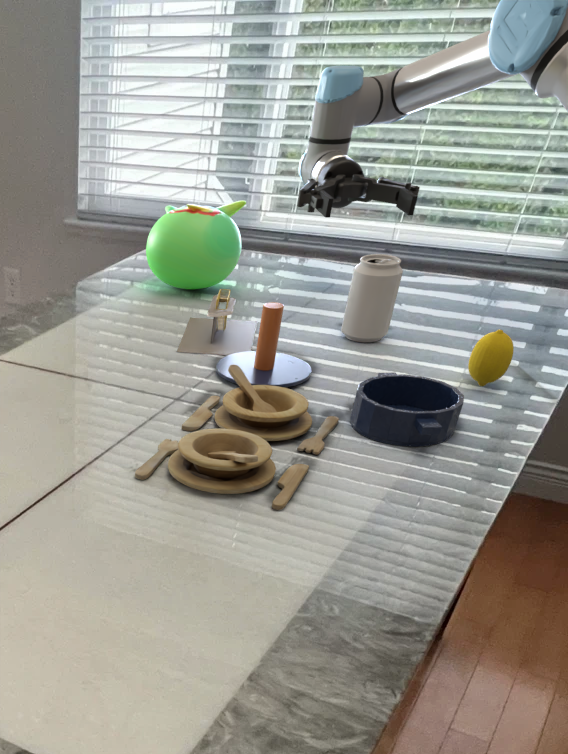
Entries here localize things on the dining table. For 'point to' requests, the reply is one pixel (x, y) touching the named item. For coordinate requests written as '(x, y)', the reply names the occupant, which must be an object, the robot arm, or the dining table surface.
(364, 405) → the pan
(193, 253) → the toy bird
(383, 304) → the can
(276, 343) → the pan lid
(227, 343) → the platform
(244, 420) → the tableware set
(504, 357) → the lemon
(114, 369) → the dining table surface
